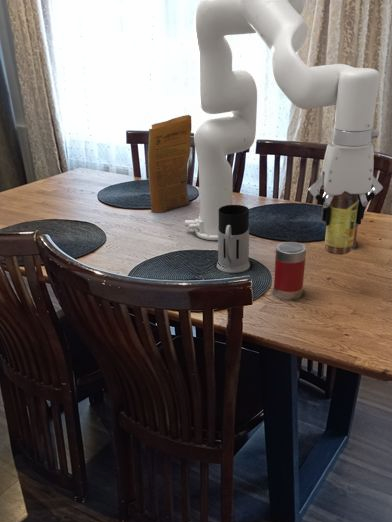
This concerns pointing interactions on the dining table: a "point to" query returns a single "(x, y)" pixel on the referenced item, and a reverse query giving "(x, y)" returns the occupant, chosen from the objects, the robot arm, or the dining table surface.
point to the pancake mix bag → (169, 163)
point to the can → (289, 270)
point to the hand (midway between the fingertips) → (341, 222)
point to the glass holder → (233, 238)
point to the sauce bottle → (341, 223)
